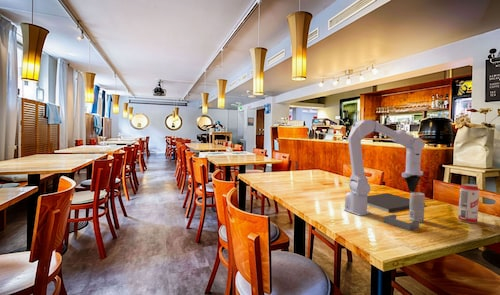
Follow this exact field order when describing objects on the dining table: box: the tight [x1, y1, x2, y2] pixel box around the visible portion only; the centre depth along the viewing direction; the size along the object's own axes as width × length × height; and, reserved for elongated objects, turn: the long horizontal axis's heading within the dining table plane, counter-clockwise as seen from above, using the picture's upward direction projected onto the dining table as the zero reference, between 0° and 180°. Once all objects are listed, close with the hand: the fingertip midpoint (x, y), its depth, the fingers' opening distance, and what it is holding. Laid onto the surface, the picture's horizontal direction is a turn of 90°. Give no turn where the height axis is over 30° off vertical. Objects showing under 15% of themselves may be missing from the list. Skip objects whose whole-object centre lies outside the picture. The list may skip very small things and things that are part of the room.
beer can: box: [457, 183, 480, 224], centre depth 106 cm, size 6×6×16 cm
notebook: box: [367, 192, 426, 213], centre depth 133 cm, size 22×2×28 cm
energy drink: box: [408, 191, 426, 224], centre depth 106 cm, size 5×5×12 cm
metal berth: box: [383, 213, 420, 232], centre depth 101 cm, size 10×7×2 cm, turn 29°
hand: (411, 191), depth 116 cm, fingers closed
